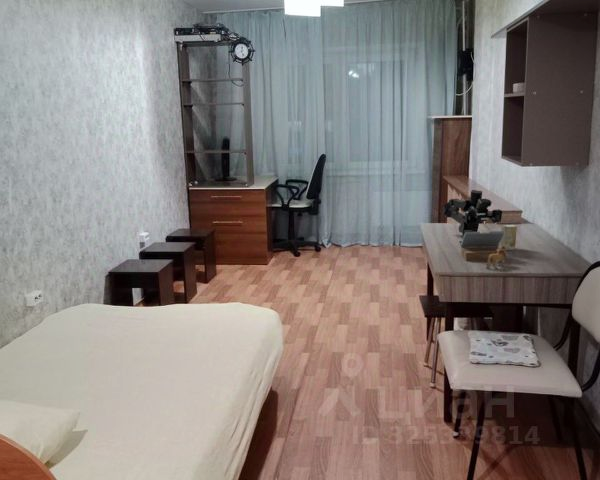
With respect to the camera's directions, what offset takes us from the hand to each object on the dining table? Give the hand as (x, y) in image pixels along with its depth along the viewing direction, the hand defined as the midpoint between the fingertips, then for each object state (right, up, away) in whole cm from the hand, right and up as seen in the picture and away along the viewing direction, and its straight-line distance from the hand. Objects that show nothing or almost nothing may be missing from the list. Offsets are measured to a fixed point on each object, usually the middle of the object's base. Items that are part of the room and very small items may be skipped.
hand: (491, 222), depth 280 cm
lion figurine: (-4, -21, -18) cm, 28 cm away
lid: (-5, -9, -3) cm, 11 cm away
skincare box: (+13, -14, +13) cm, 23 cm away
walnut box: (-5, -17, -2) cm, 18 cm away
